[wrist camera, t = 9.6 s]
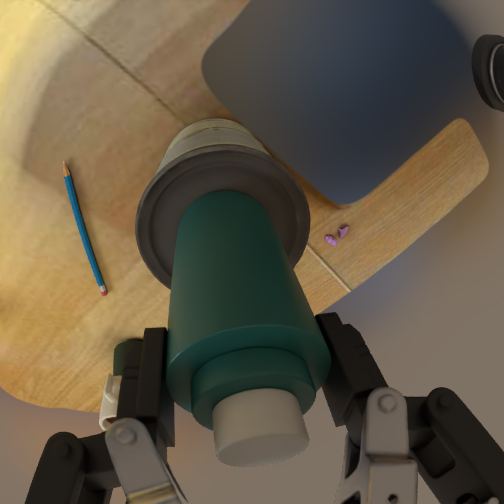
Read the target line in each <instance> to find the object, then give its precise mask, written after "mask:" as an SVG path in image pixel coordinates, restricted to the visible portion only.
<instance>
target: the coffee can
mask: <svg viewBox="0 0 504 504" xmlns="http://www.w3.org/2000/svg"><path fill="white" fill-rule="evenodd" d="M217 191H236V192H240V193H244V194H246V195H248V196H250V197H252V198H254V199H255V200H256V201H258V202H259V203H260V204H261V205H262V206H263V208H264V209H265V210H266V212H267V214H268V216H269V218H270V220H271V222H272V224H273V227H274V229H275V231H276V233H277V235H278V237H279V239H280V242H281V244H282V246H283V248H284V250H285V252H286V255H287V257H288V259H289V261H290V263H291V265H292V268H294V267H295V265H296V264H297V263H298V261H299V260H300V258H301V256H302V254H303V252H304V250H305V247H306V245H307V241H308V237H309V231H310V211H309V205H308V202H307V199H306V196H305V194H304V191H303V189H302V187H301V186H300V184H299V182H298V181H297V179H296V178H295V177H294V175H293V174H292V173H291V172H290V171H289V170H288V169H287V168H286V167H285V166H284V165H283V164H281V163H280V162H279V161H278V160H276V159H275V158H274V156H273V155H272V154H271V153H270V152H269V151H268V150H267V149H266V148H265V147H264V146H263V145H262V144H261V143H260V142H259V141H258V139H257V138H256V137H255V136H254V134H253V133H252V132H250V131H249V130H248V129H247V128H246V127H244V126H243V125H241V124H239V123H236V122H234V121H231V120H226V119H218V118H213V119H204V120H201V121H198V122H195V123H193V124H191V125H189V126H188V127H186V128H184V129H183V130H182V131H181V132H179V133H178V134H177V135H176V137H175V138H174V139H173V140H172V142H171V143H170V145H169V147H168V149H167V151H166V154H165V156H164V158H163V160H162V162H161V164H160V166H159V168H158V170H157V172H156V174H155V176H154V178H153V179H152V180H151V181H150V183H149V184H148V186H147V188H146V189H145V191H144V193H143V195H142V197H141V200H140V202H139V205H138V210H137V214H136V220H135V235H136V240H137V245H138V248H139V251H140V254H141V256H142V258H143V261H144V262H145V264H146V265H147V267H148V269H149V270H150V271H151V273H152V274H153V275H154V276H155V277H156V278H157V279H158V280H159V281H160V282H161V283H162V284H163V285H165V286H166V287H167V288H169V289H170V290H171V283H172V274H173V264H174V255H175V247H176V239H177V231H178V225H179V222H180V219H181V217H182V215H183V213H184V212H185V210H186V209H187V208H188V207H189V206H190V205H191V204H192V203H193V202H194V201H196V200H197V199H199V198H200V197H202V196H204V195H206V194H209V193H212V192H217Z"/></svg>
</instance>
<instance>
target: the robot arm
mask: <svg viewBox="0 0 504 504" xmlns="http://www.w3.org/2000/svg"><path fill="white" fill-rule="evenodd" d="M487 69H488V77H489V82H490V85H491V88H492V90H493V93H494V94H495V96H496V97H497V99H498V100H499V101H500V102H501V103H503V104H504V44H500V43H499V44H495V45H494V46H493V47H492V48H491V50H490V52H489V56H488V63H487ZM315 319H316V321H317V324H318V326H319V328H320V330H321V333H322V335H323V337H324V340H325V342H326V344H327V347H328V349H329V351H330V354H331V367H330V370H329V373H328V376H327V379H326V381H325V382H324V384H323V385H322V386H321V387H322V389H323V392H324V395H325V398H326V400H327V403H328V406H329V408H330V411H331V414H332V417H333V420H334V422H335V426H336V427H338V426H342V425H346V428H347V430H348V432H347V434H346V439H345V449H344V458H343V467H342V475H341V481H340V484H339V487H338V489H337V492H336V495H335V500H334V504H417V483H418V472H419V474H420V475H421V476H422V478H423V479H424V481H425V482H426V484H427V485H428V486H429V488H430V489H431V491H432V492H433V494H434V495H435V496H436V498H437V499H438V500H439V502H440V503H441V504H504V452H503V451H502V449H501V448H500V447H499V445H498V444H497V443H496V442H495V440H494V439H493V438H492V437H491V435H490V434H489V433H488V432H487V430H486V429H485V428H484V427H483V426H482V424H481V423H480V422H479V421H478V420H477V418H476V417H475V416H474V415H473V414H472V412H471V411H470V410H469V409H468V408H467V406H466V405H465V404H464V403H463V402H462V401H461V399H460V398H459V397H458V396H457V395H456V394H455V393H454V392H453V391H452V390H450V389H448V388H443V387H440V388H436V389H434V390H432V391H431V392H430V393H429V395H428V396H427V397H406V396H403V395H402V394H401V393H400V392H399V391H397V390H396V389H393V388H390V387H389V386H388V385H387V383H386V381H385V379H384V377H383V376H382V374H381V372H380V370H379V368H378V366H377V364H376V362H375V360H374V358H373V356H372V355H371V354H370V351H369V349H368V347H367V345H365V341H364V340H363V338H362V336H361V334H360V332H359V331H357V330H356V329H355V328H354V327H353V326H352V325H350V324H345V325H343V324H342V322H341V320H340V318H339V316H338V314H337V313H336V312H333V313H324V314H317V315H315ZM166 346H167V329H166V327H160V328H145V331H144V337H143V343H132V345H131V346H130V347H129V349H128V350H127V352H126V353H125V358H124V364H123V370H122V379H121V383H120V390H119V398H118V406H117V414H116V418H115V421H114V422H113V423H112V424H111V425H110V426H109V427H108V429H107V430H106V431H105V432H102V433H100V434H97V435H92V436H89V437H84V438H79V439H78V438H77V437H76V436H75V435H74V434H72V433H69V432H58V433H56V434H54V435H52V436H51V437H50V438H49V439H48V441H47V443H46V445H45V448H44V450H43V453H42V455H41V458H40V461H39V463H38V466H37V469H36V472H35V474H34V477H33V480H32V483H31V486H30V489H29V492H28V495H27V498H26V501H25V504H109V502H110V498H111V495H112V491H113V488H116V487H120V486H122V488H123V491H124V493H125V496H126V500H127V501H126V504H190V502H189V501H188V499H187V497H186V496H185V494H184V492H183V490H182V488H181V487H180V485H179V483H178V481H177V479H176V477H175V475H174V474H173V471H172V470H171V468H170V466H169V464H168V462H167V447H175V431H174V400H173V399H172V398H171V396H170V393H169V391H168V388H167V385H166V382H165V364H166ZM389 502H390V503H389Z"/></svg>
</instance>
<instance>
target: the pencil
mask: <svg viewBox="0 0 504 504" xmlns="http://www.w3.org/2000/svg"><path fill="white" fill-rule="evenodd" d="M63 168H64V179H65V183H66V187H67V191H68V194H69V198H70V202H71V205H72V209H73V212H74V216H75V219H76V222H77V226H78V229H79V232H80V235H81V238H82V241H83V244H84V247H85V250H86V253H87V256H88V259H89V262H90V264H91V267H92V270H93V273H94V275H95V278H96V281H97V283H98V286H99V288H100V291H101V293H102V296H106V295H107V291H106V288H105V286H104V283H103V281H102V278H101V275H100V272H99V270H98V267H97V264H96V261H95V258H94V255H93V253H92V250H91V247H90V243H89V240H88V237H87V234H86V231H85V228H84V224H83V221H82V218H81V214H80V211H79V207H78V203H77V200H76V196H75V192H74V188H73V184H72V180H71V176H70V173H69V171H68V168H67V166H66V164H65V162H64V160H63Z"/></svg>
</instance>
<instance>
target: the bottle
mask: <svg viewBox="0 0 504 504" xmlns="http://www.w3.org/2000/svg"><path fill="white" fill-rule="evenodd" d="M330 367H331V354H330V351H329V349H328V347H327V344H326V342H325V340H324V337H323V335H322V333H321V330H320V328H319V326H318V324H317V321H316V319H315V317H314V315H313V312H312V310H311V308H310V305H309V303H308V301H307V299H306V297H305V294H304V292H303V290H302V288H301V285H300V283H299V281H298V279H297V276H296V274H295V272H294V270H293V268H292V265H291V263H290V261H289V259H288V257H287V255H286V252H285V250H284V248H283V246H282V244H281V242H280V239H279V237H278V235H277V233H276V231H275V229H274V227H273V224H272V222H271V220H270V218H269V216H268V214H267V212H266V210H265V209H264V208H263V206H262V205H261V204H260V203H259V202H258V201H256V200H255V199H254V198H252V197H250V196H248V195H246V194H244V193H240V192H236V191H217V192H212V193H209V194H206V195H204V196H202V197H200V198H199V199H197V200H196V201H194V202H193V203H192V204H191V205H190V206H189V207H188V208H187V209H186V210H185V212H184V213H183V215H182V217H181V219H180V222H179V225H178V231H177V239H176V247H175V255H174V264H173V274H172V283H171V294H170V305H169V317H168V330H167V346H166V364H165V382H166V385H167V388H168V391H169V393H170V396H171V398H172V399H173V400H174V401H175V402H176V403H177V404H178V405H179V406H180V407H182V408H183V409H185V410H187V411H188V412H191V413H192V414H193V417H194V418H195V419H196V421H197V422H198V423H199V424H201V425H202V426H204V427H206V428H207V429H210V430H212V431H214V441H215V449H216V456H217V458H218V460H219V461H221V462H222V463H224V464H227V465H231V466H238V467H256V466H264V465H270V464H274V463H278V462H281V461H284V460H287V459H290V458H292V457H294V456H296V455H298V454H299V453H301V452H302V451H304V450H305V449H306V448H307V446H308V444H309V436H308V433H307V429H306V426H305V422H304V419H303V414H305V413H306V412H307V411H308V410H309V409H310V408H311V406H312V405H313V403H314V401H315V398H316V392H317V391H318V390H319V388H320V387H321V386H322V385H323V384H324V382H325V381H326V379H327V376H328V373H329V370H330Z"/></svg>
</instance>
